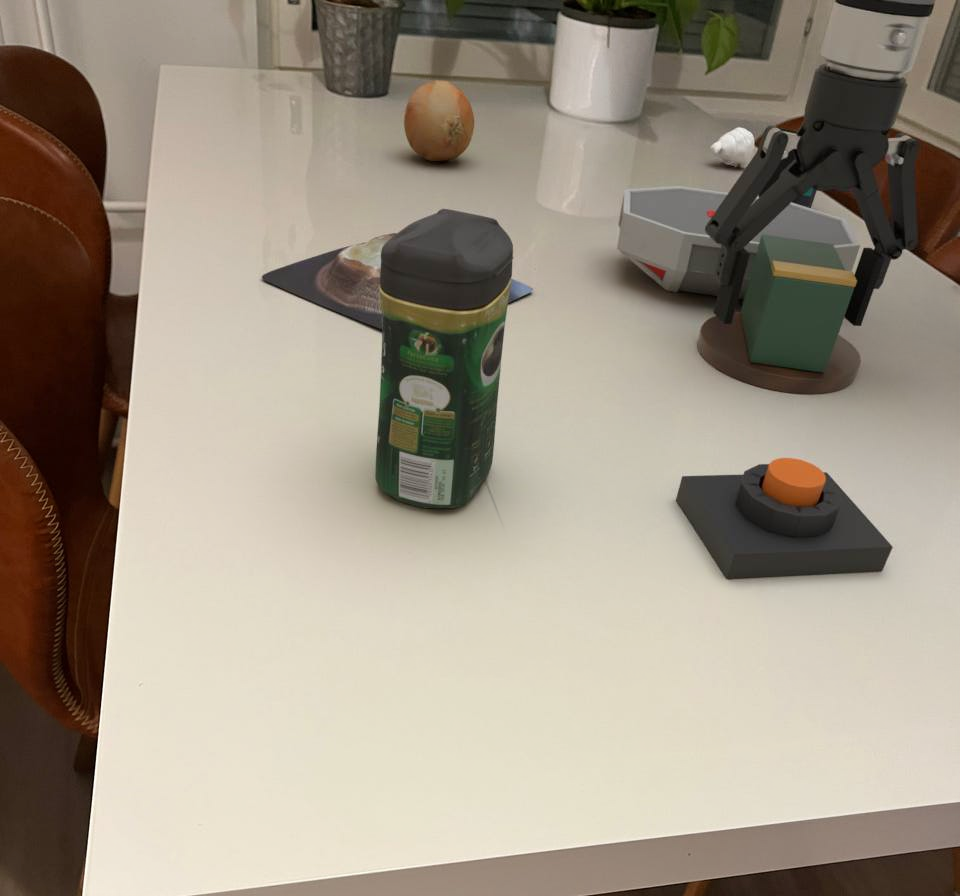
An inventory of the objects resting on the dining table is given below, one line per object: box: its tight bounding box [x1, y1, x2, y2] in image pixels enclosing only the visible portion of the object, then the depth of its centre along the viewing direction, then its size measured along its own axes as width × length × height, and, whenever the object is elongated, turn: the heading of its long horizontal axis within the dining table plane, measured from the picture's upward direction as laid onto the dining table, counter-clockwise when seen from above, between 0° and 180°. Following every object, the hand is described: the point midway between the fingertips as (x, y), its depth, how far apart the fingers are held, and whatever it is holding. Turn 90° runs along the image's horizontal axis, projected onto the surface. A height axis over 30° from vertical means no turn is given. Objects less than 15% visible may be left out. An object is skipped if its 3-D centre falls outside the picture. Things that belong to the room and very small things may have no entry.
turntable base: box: [696, 311, 862, 395], centre depth 97 cm, size 16×16×2 cm
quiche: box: [261, 232, 534, 330], centre depth 101 cm, size 21×20×4 cm
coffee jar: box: [374, 208, 514, 509], centre depth 68 cm, size 10×8×19 cm
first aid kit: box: [616, 185, 861, 301], centre depth 109 cm, size 18×8×25 cm
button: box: [762, 457, 826, 507], centre depth 69 cm, size 4×4×2 cm
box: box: [739, 235, 857, 373], centre depth 93 cm, size 12×7×9 cm, turn 173°
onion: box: [403, 80, 475, 162], centre depth 136 cm, size 10×10×10 cm
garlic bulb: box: [710, 127, 755, 168], centre depth 150 cm, size 6×6×5 cm
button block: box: [675, 463, 894, 581], centre depth 71 cm, size 12×10×4 cm
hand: (787, 319), depth 95 cm, fingers open, 13 cm apart
